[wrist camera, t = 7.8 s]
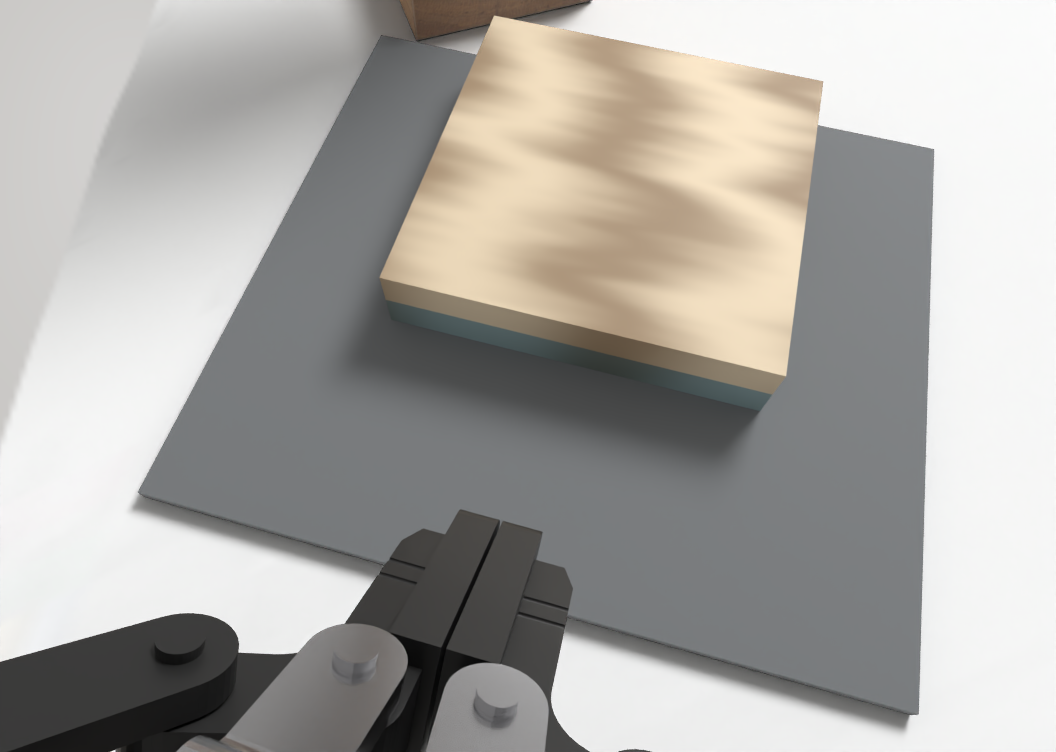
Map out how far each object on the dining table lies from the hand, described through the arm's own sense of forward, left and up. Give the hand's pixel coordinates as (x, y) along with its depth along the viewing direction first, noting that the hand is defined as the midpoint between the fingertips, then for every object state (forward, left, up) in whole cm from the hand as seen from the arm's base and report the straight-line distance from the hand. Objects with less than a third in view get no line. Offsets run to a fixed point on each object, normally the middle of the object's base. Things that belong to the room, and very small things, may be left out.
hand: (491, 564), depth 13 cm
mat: (0, -11, -8) cm, 13 cm away
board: (0, -8, -6) cm, 10 cm away
